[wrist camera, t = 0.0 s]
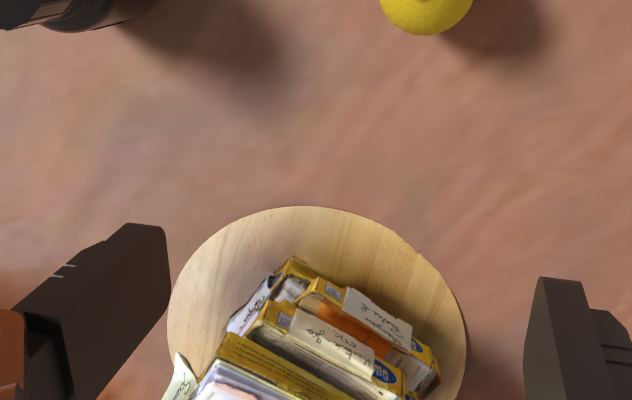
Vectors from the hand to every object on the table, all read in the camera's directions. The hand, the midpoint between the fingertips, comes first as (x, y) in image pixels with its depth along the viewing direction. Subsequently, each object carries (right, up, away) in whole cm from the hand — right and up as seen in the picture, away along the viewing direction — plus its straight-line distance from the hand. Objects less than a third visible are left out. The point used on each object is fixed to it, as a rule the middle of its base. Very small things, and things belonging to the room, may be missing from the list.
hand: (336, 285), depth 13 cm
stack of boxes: (0, -10, +38) cm, 39 cm away
